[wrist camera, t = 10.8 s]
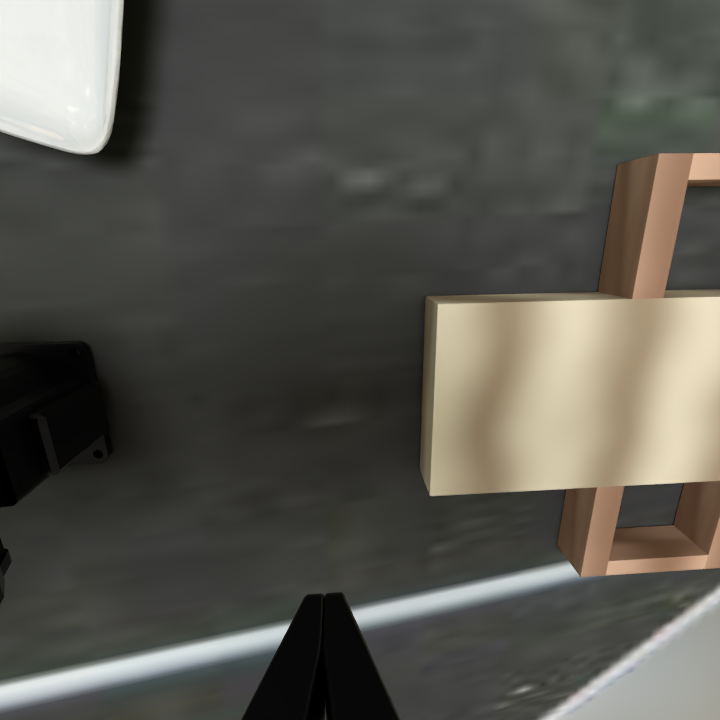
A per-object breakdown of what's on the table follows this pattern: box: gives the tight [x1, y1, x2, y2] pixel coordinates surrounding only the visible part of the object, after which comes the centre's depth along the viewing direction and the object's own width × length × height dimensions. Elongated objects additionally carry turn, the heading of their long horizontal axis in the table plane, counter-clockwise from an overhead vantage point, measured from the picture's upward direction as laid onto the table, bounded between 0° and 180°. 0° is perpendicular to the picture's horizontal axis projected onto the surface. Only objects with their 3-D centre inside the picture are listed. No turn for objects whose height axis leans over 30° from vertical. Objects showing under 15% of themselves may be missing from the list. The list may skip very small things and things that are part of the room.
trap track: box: [420, 153, 720, 577], centre depth 21 cm, size 26×22×2 cm
